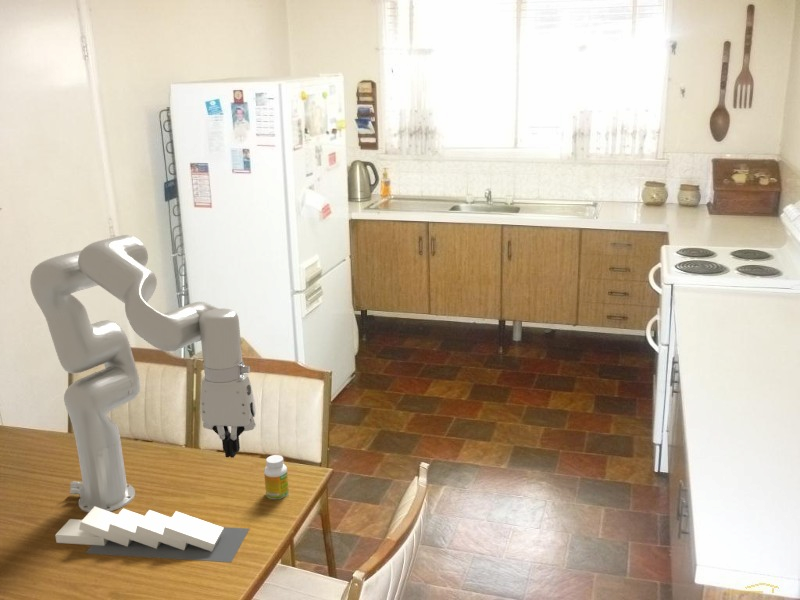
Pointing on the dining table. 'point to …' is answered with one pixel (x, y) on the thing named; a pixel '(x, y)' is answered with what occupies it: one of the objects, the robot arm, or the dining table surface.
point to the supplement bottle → (276, 477)
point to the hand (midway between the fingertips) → (232, 454)
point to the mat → (220, 553)
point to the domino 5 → (193, 531)
